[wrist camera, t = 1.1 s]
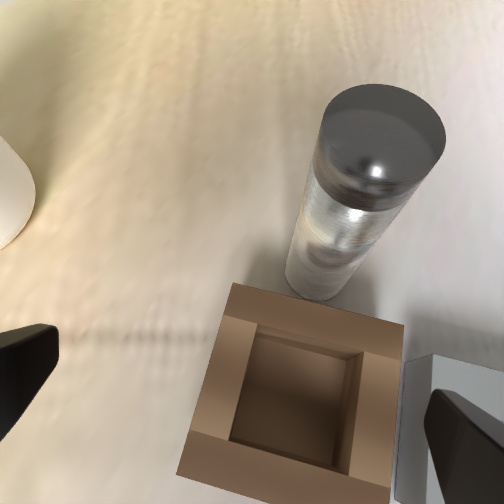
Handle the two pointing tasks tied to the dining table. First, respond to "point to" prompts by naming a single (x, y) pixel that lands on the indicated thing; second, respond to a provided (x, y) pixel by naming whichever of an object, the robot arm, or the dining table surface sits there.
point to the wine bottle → (14, 194)
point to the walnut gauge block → (297, 403)
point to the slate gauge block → (413, 411)
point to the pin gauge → (359, 182)
